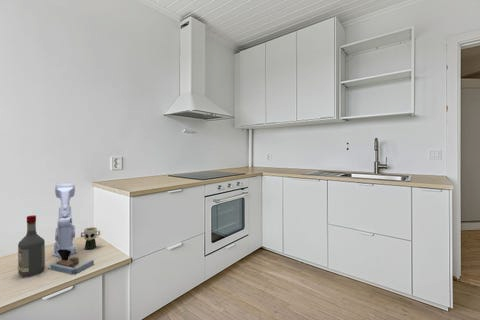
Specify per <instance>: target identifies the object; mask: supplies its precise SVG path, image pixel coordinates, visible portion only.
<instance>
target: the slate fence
mask: <svg viewBox="0 0 480 320" xmlns="http://www.w3.org/2000/svg"><path fill="white" fill-rule="evenodd" d="M94 260H95V259H91V260H89V261H86V262H84V263H83V264H80V265H78V266H76V267H74V268H72V267H67V266H63V265H58V264H56V263H51V264H50V265H49V269H50V270H53V271H57V272H61V273H65V274H70V275H73V274H74V275H76V274H78V273H80V272H82V271H84V270H86V269H88V268H89V267H92V266H94V264H95V261H94Z"/></svg>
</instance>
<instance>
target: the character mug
mask: <svg viewBox="0 0 480 320" xmlns="http://www.w3.org/2000/svg"><path fill="white" fill-rule="evenodd" d="M98 236H101V230H98V227H95V226H90V227H86V228H84V230H83V231H82V232H80V237H81V238H84V240H85V243H84V244H85V245H84V249H85V250H89V249H90V250H92V249H95V248H96V247H97V244H96V238H97V237H98Z"/></svg>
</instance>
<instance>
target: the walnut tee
mask: <svg viewBox="0 0 480 320" xmlns="http://www.w3.org/2000/svg"><path fill="white" fill-rule="evenodd" d="M79 259H80V258H79V257H78V256H73V257H71V258H69V259H68V260H66V261H65V260H62V259H61V260H59V261H56V263H55V264H58V265H63V266H67V267H72V268H75V266H77V265H79V263H80V260H79Z"/></svg>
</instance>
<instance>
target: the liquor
mask: <svg viewBox="0 0 480 320" xmlns="http://www.w3.org/2000/svg"><path fill="white" fill-rule="evenodd" d="M36 225H37V215H35V214H34V215H33V214H32V215H28V216H26V227H27V228H26V235H25V236H24V237H23V238H21V240H20V241H19V242H18V244H17V250H18V251H17V252H18V253H17V254H18V257H17V259H18V260H17V262H18V264H17V265H18V274H19V275H20V276H21V277H22V278H31V277H33V276H36V275H39V274H41V273H42V272H44V270H45V268H46V261H45V260H46V259H45V257H46V255H45V254H46V252H45V251H46V250H45V249H46V248H45V245H46V244H45V243H46V242H45V241H46V240H45V239H44V238H43V237H41V236H40V235H39V234H38V233H37V227H36Z"/></svg>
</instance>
